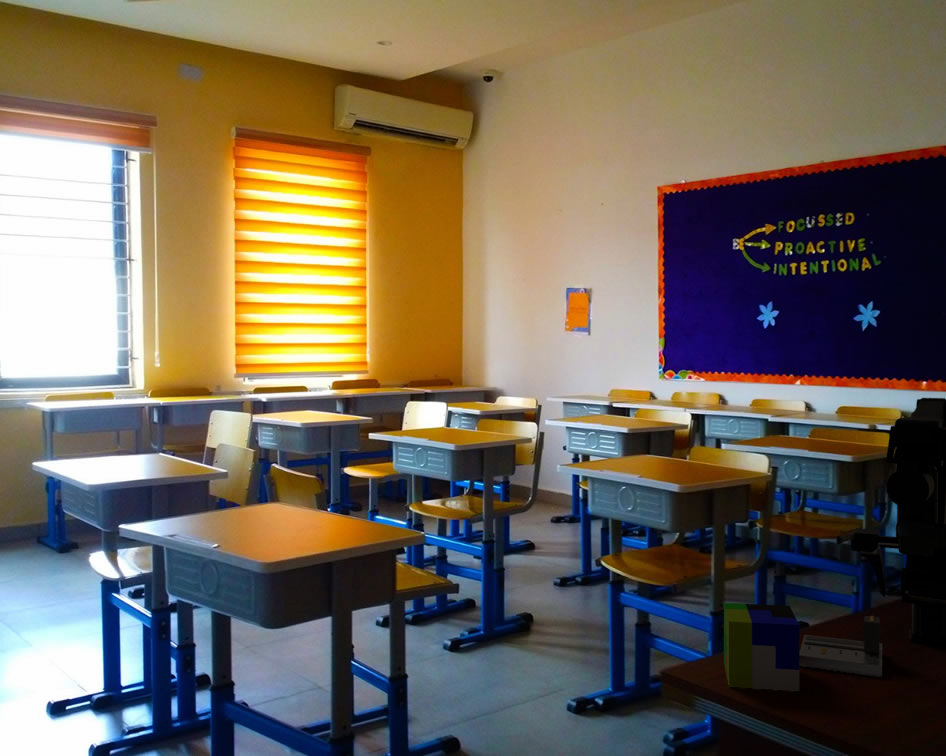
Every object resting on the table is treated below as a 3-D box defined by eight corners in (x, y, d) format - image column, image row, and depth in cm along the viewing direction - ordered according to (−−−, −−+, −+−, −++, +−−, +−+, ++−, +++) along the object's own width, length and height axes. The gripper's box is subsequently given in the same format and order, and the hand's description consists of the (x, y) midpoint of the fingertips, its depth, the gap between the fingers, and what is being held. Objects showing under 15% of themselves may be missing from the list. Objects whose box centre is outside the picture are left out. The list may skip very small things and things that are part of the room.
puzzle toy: (799, 692, 132) (799, 624, 132) (728, 687, 134) (728, 621, 134) (789, 668, 142) (789, 605, 142) (724, 664, 144) (723, 602, 144)
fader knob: (864, 645, 146) (864, 614, 146) (879, 647, 145) (879, 616, 145) (864, 651, 143) (864, 620, 143) (879, 653, 142) (879, 621, 142)
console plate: (804, 645, 153) (804, 634, 153) (882, 654, 148) (882, 642, 148) (798, 666, 143) (798, 654, 143) (881, 677, 138) (881, 664, 138)
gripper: (848, 502, 137) (847, 604, 137) (989, 511, 129) (988, 620, 129) (853, 493, 147) (853, 588, 147) (985, 501, 139) (984, 602, 139)
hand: (916, 599), depth 140 cm, fingers open, 9 cm apart
